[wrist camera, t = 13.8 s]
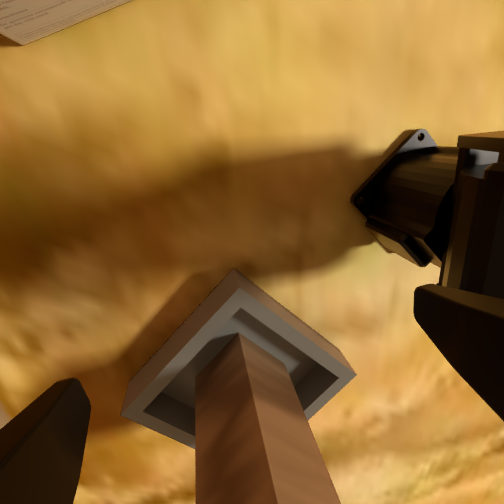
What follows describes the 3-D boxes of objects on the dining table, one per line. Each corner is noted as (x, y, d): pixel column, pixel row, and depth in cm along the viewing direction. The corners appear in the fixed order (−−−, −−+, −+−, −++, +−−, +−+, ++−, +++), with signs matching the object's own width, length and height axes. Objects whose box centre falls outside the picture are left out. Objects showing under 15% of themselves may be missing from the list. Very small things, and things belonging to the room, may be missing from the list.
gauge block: (238, 332, 22) (282, 525, 11) (284, 363, 24) (362, 556, 13) (195, 377, 23) (196, 600, 12) (242, 404, 25) (282, 620, 14)
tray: (233, 267, 21) (239, 287, 18) (339, 349, 26) (356, 374, 23) (129, 381, 23) (120, 415, 20) (244, 440, 27) (250, 474, 24)
